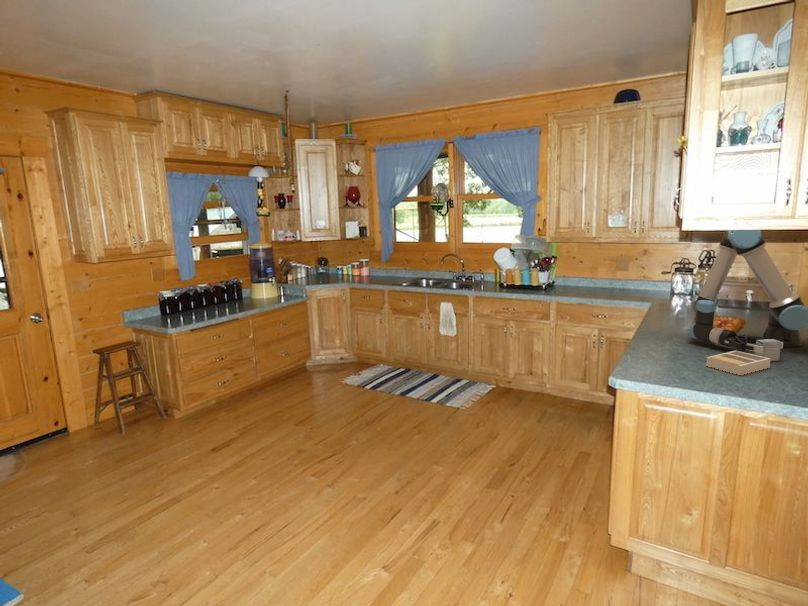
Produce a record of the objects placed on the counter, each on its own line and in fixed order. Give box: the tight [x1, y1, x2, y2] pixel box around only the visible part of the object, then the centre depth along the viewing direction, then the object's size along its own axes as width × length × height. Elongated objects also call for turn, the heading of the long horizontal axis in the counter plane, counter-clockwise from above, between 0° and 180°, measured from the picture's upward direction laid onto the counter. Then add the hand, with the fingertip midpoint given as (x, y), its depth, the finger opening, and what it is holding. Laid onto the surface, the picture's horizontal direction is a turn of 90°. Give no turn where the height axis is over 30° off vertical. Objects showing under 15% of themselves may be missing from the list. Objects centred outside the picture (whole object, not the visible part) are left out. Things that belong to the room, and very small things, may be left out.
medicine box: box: [754, 339, 781, 362], centre depth 211 cm, size 8×4×9 cm, turn 92°
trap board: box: [705, 350, 771, 376], centre depth 204 cm, size 19×14×4 cm
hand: (772, 347), depth 209 cm, fingers open, 13 cm apart
